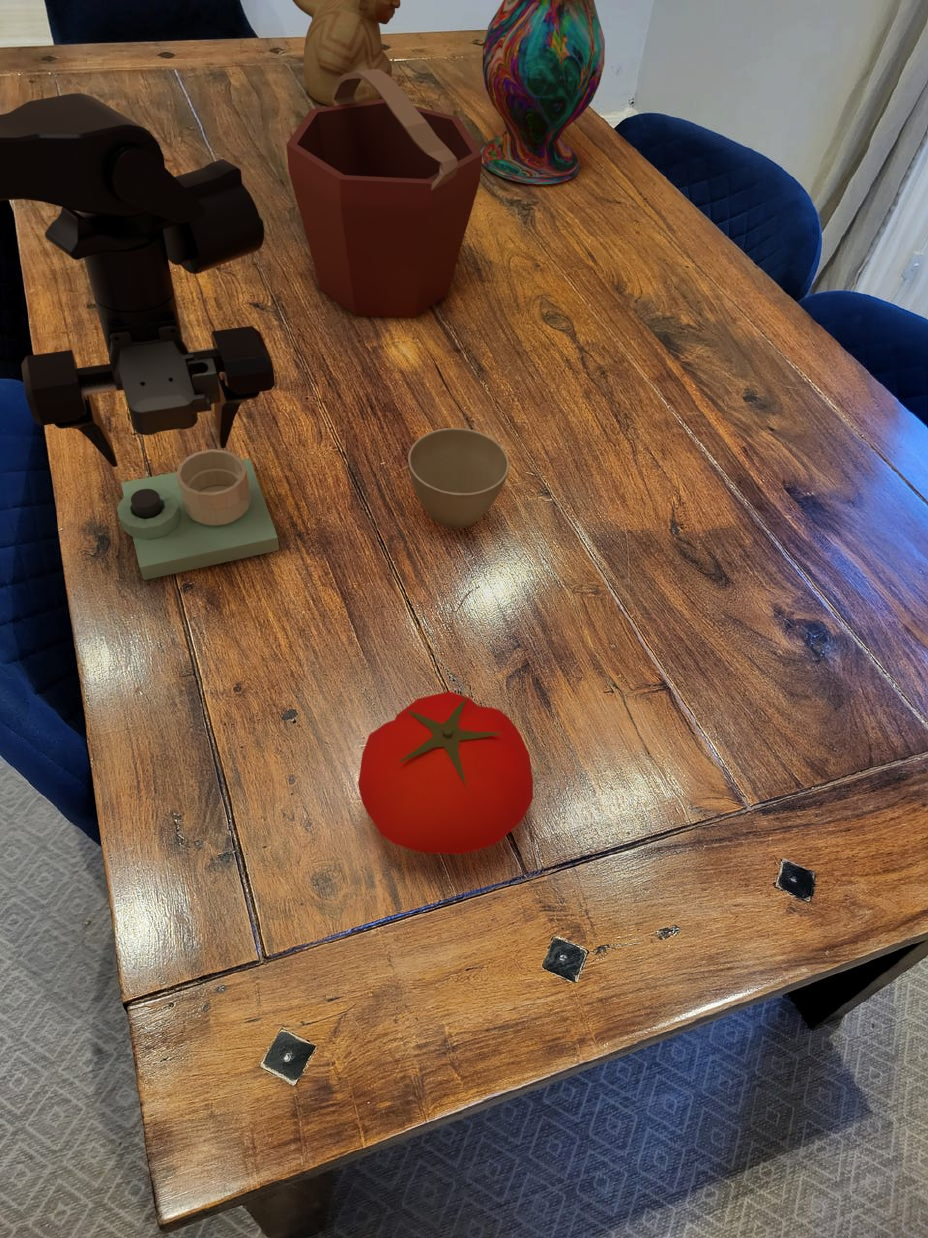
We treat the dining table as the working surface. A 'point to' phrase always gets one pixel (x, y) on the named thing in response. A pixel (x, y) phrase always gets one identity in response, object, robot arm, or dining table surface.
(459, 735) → the tomato
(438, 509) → the brown cup
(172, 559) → the scale
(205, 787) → the dining table surface
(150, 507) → the button
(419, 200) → the bucket
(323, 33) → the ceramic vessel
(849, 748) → the dining table surface
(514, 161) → the vase
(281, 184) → the dining table surface
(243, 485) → the bowl
